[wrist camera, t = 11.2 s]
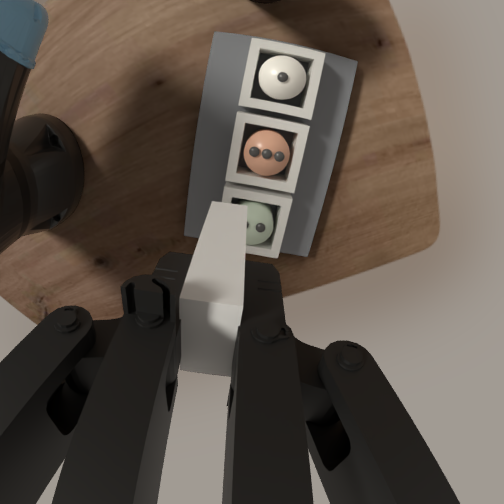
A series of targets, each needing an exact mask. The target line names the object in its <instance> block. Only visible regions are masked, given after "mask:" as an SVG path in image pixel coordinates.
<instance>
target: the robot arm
mask: <svg viewBox="0 0 504 504" xmlns="http://www.w3.org/2000/svg"><path fill="white" fill-rule="evenodd" d="M47 26H48V13H47V11H46V9H45V8H44V7H43V6H42V5H41V4H39V3H37V2H35V1H33V0H0V254H1V253H2V252H3V251H4V250H6V249H7V248H8V247H9V246H10V245H11V244H13V243H14V242H15V241H16V240H17V239H19V238H20V237H21V236H25V235H29V234H34V233H38V232H42V231H47V230H50V229H52V228H54V227H56V226H58V225H59V224H60V223H61V222H63V221H64V220H65V219H67V218H68V217H69V216H70V215H71V214H72V213H73V211H74V210H75V208H76V207H77V205H78V203H79V200H80V198H81V194H82V190H83V184H84V167H83V160H82V155H81V152H80V149H79V146H78V144H77V141H76V139H75V137H74V136H73V134H72V133H71V131H70V130H69V129H68V127H67V126H66V125H65V124H64V123H63V122H61V121H60V120H59V119H57V118H55V117H53V116H51V115H47V114H34V115H29V116H25V117H22V118H20V119H18V120H16V121H15V118H16V114H17V110H18V107H19V104H20V100H21V97H22V94H23V91H24V88H25V85H26V82H27V79H28V76H29V74H30V71H31V69H34V67H35V64H36V63H35V58H36V55H37V53H38V50H39V47H40V44H41V42H42V39H43V37H44V34H45V32H46V29H47ZM247 207H248V206H246V205H238V204H231V203H223V202H215V201H212V203H211V206H210V208H209V211H208V214H207V217H206V220H205V223H204V225H203V228H202V231H201V234H200V237H199V240H198V243H197V246H196V249H195V252H194V255H191V254H183V253H176V252H169V253H167V254H166V255H164V256H163V257H162V258H160V260H159V262H158V264H157V266H156V269H155V270H154V272H153V274H152V275H140V276H135V277H133V278H131V279H129V280H127V281H125V282H124V283H123V285H122V286H121V295H122V303H123V310H124V315H123V317H121V318H118V319H111V320H92V317H91V315H90V313H89V312H88V311H87V310H85V309H84V308H82V307H78V306H64V307H61V308H58V309H56V310H55V311H53V312H52V313H50V314H49V315H48V316H47V317H46V318H45V319H44V320H43V321H42V322H41V323H39V324H38V325H37V326H36V327H35V328H34V329H33V330H32V331H31V332H30V333H29V334H28V335H27V336H26V337H25V338H24V339H23V340H22V341H21V342H20V343H19V344H18V345H17V346H16V347H15V348H14V349H13V350H12V351H11V352H10V353H9V354H8V355H7V356H6V357H5V358H4V359H3V360H2V361H1V362H0V504H36V503H37V501H38V499H39V498H40V496H41V495H42V493H43V491H44V490H45V488H46V487H47V485H48V484H49V482H50V480H51V479H52V477H53V476H54V474H55V473H56V471H57V470H58V468H59V466H60V465H61V463H62V462H63V460H64V459H65V461H64V464H63V467H62V470H61V473H60V477H59V480H58V483H57V487H56V491H55V494H54V497H53V501H52V504H157V500H158V493H159V487H160V481H161V474H162V468H163V462H164V456H165V450H166V444H167V439H168V434H169V428H170V423H171V417H172V412H173V407H174V402H175V396H176V392H177V386H178V380H177V374H178V369H179V365H180V370H184V371H190V372H197V373H205V374H212V375H221V376H229V377H231V384H230V390H229V396H228V402H227V406H228V416H227V431H226V448H225V463H224V480H223V498H222V504H313V493H312V483H311V473H310V463H309V454H308V449H309V452H310V454H311V457H312V459H313V462H314V464H315V467H316V469H317V472H318V474H319V477H320V479H321V482H322V484H323V487H324V489H325V492H326V494H327V497H328V499H329V502H330V504H460V502H459V501H458V499H457V497H456V495H455V493H454V491H453V490H452V488H451V486H450V484H449V482H448V481H447V479H446V477H445V476H444V473H443V472H442V470H441V468H440V467H439V465H438V463H437V461H436V459H435V458H434V456H433V454H432V452H431V451H430V449H429V447H428V446H427V444H426V442H425V441H424V439H423V437H422V435H421V434H420V432H419V431H418V429H417V427H416V425H415V424H414V422H413V420H412V419H411V417H410V415H409V414H408V412H407V411H406V409H405V407H404V406H403V404H402V402H401V401H400V400H399V398H398V397H397V394H396V393H395V391H394V390H393V388H392V386H391V385H390V383H389V382H388V380H387V379H386V377H385V375H384V374H383V372H382V371H381V369H380V368H379V366H378V365H377V363H376V361H375V360H374V358H373V357H372V355H371V354H370V353H369V352H368V351H367V350H366V349H365V348H364V347H362V346H361V345H359V344H357V343H354V342H350V341H336V342H333V343H331V344H330V345H329V346H328V347H327V348H326V349H325V350H323V349H320V348H317V347H314V346H310V345H308V344H305V343H303V342H301V341H300V340H298V339H297V338H295V337H294V336H293V333H292V330H291V328H290V327H289V326H287V325H286V322H285V314H284V306H283V298H282V293H281V291H282V290H281V285H280V283H281V282H280V275H279V272H278V271H277V269H276V268H275V267H274V266H273V264H268V263H260V262H253V261H245V252H246V229H247Z"/></svg>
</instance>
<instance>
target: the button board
mask: <svg viewBox="0 0 504 504" xmlns="http://www.w3.org/2000/svg"><path fill="white" fill-rule="evenodd" d="M275 56H289V57H292V58H294V59H295V60H297V61H298V62H299V63H300V64H301V65H302V66H303V68H304V70H305V73H306V84H305V86H304V88H303V90H302V91H301V92H300V93H299V94H298V95H297V96H295V97H293V98H290V99H283V100H280V99H274V98H271V97H269V96H268V95H266V94H265V93H264V92H263V91H262V89H261V87H260V85H259V71H260V68H261V66H262V65H263V64H264V62H266V61H267V60H268V59H270V58H272V57H275ZM357 63H358V61H355V60H352V59H348V58H345V57H342V56H339V55H335V54H332V53H328V52H325V51H321V50H317V49H313V48H309V47H305V46H301V45H297V44H292V43H287V42H283V41H277V40H272V39H267V38H261V37H255V36H248V35H241V34H233V33H225V32H215V31H214V36H213V41H212V46H211V50H210V55H209V60H208V66H207V71H206V76H205V82H204V87H203V93H202V99H201V105H200V111H199V117H198V124H197V130H196V137H195V144H194V151H193V159H192V166H191V174H190V182H189V191H188V200H187V209H186V219H185V230H184V236H189V237H195V238H199V237H200V234H201V231H202V228H203V225H204V223H205V220H206V217H207V214H208V211H209V208H210V206H211V203H212V201H215V202H223V203H231V204H237V203H238V202H239V201H240V200H241V199H246V200H252V201H258V202H263V203H268V204H269V205H270V207H271V209H272V216H273V231H272V234H271V235H270V237H269V238H268V239H267V240H266V241H264V242H262V243H260V244H255V245H249V244H246V252H245V253H249V254H254V255H260V256H266V257H272V258H278V256H279V252H282V253H288V254H293V255H299V256H305V257H308V254H309V251H310V247H311V244H312V241H313V237H314V234H315V230H316V227H317V224H318V220H319V217H320V213H321V210H322V206H323V203H324V199H325V195H326V192H327V188H328V184H329V181H330V177H331V173H332V169H333V166H334V162H335V158H336V154H337V150H338V146H339V142H340V138H341V134H342V130H343V126H344V121H345V117H346V113H347V109H348V104H349V100H350V95H351V91H352V86H353V82H354V77H355V72H356V68H357ZM264 128H268V129H273V130H275V131H277V132H279V133H280V134H281V135H282V136H283V138H284V139H285V141H286V142H287V144H288V146H289V150H290V157H289V161H288V163H287V165H286V166H285V168H284V169H283V170H282V171H280V172H279V173H277V174H274V175H270V176H264V175H259V174H257V173H255V172H253V171H252V170H251V169H250V168H249V167H248V166H247V164H246V162H245V159H244V148H245V145H246V142H247V139H248V138H249V136H250V135H251V134H252V133H253V132H255V131H257V130H259V129H264Z"/></svg>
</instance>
